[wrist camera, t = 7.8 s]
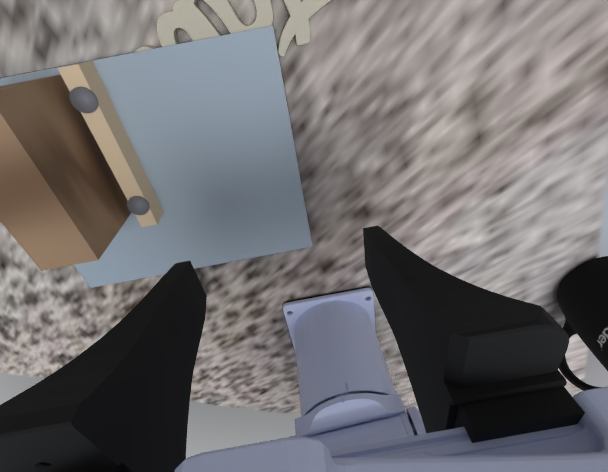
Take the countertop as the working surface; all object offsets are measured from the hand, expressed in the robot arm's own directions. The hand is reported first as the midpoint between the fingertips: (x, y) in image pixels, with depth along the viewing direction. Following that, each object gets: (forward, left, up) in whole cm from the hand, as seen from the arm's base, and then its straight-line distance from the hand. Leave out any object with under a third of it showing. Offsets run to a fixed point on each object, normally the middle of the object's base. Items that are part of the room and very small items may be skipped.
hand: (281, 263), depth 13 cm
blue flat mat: (+1, +7, -10) cm, 12 cm away
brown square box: (+4, +11, -9) cm, 15 cm away
